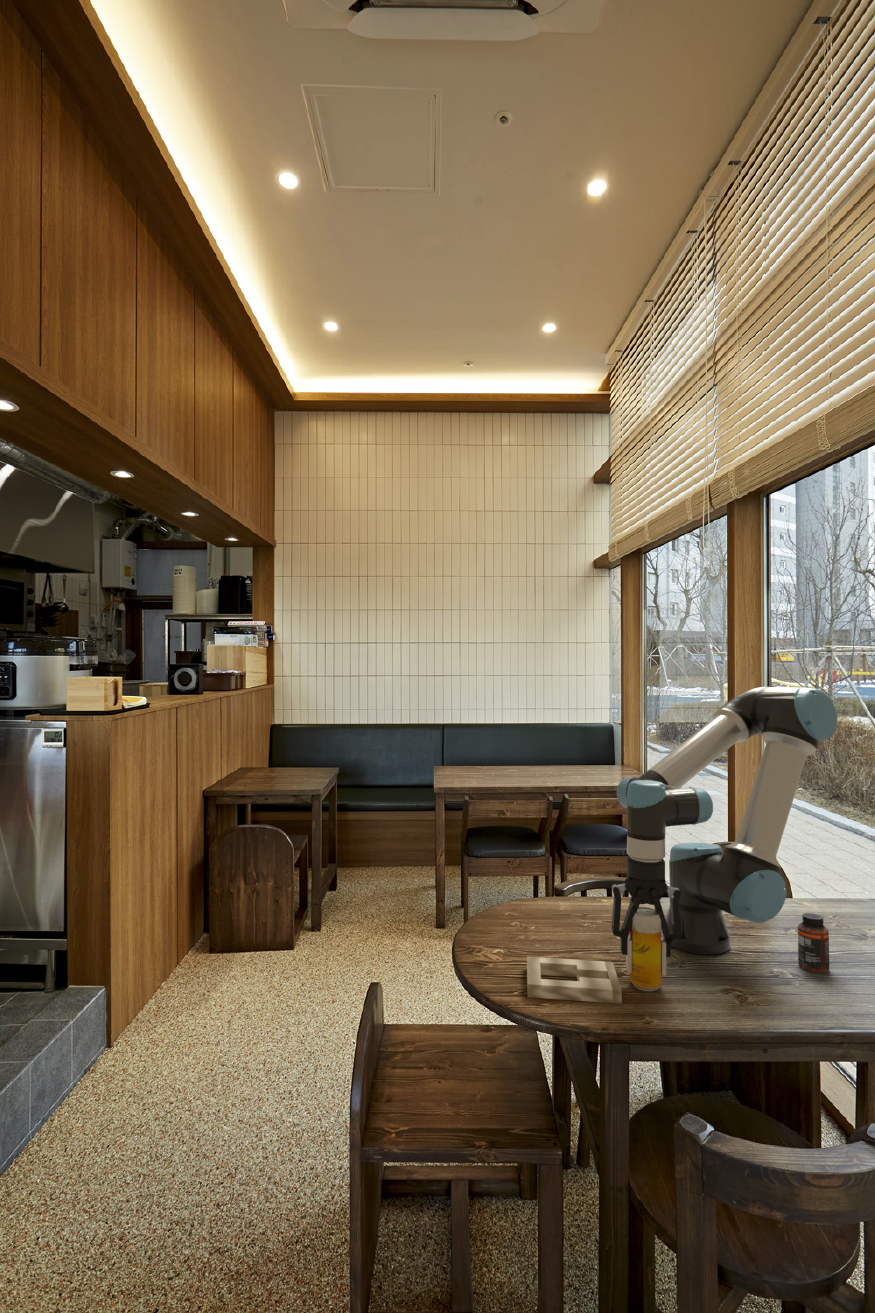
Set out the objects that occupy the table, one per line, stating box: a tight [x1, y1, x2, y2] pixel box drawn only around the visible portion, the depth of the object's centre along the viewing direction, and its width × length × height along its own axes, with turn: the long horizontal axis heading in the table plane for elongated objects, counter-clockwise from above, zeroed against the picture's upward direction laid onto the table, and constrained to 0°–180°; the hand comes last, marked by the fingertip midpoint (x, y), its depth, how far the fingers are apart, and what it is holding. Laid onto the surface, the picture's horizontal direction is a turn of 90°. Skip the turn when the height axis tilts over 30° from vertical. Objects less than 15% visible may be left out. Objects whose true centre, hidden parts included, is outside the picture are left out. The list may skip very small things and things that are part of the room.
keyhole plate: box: [526, 956, 623, 1005], centre depth 136 cm, size 18×13×2 cm
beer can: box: [629, 906, 662, 992], centre depth 136 cm, size 6×6×15 cm
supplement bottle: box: [797, 912, 830, 974], centre depth 145 cm, size 6×6×11 cm
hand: (645, 971), depth 136 cm, fingers closed on beer can, 6 cm apart
